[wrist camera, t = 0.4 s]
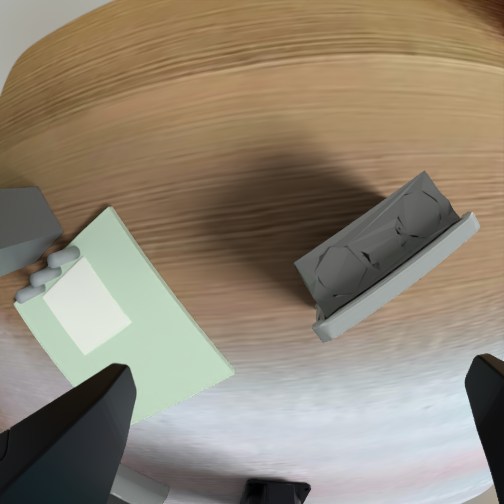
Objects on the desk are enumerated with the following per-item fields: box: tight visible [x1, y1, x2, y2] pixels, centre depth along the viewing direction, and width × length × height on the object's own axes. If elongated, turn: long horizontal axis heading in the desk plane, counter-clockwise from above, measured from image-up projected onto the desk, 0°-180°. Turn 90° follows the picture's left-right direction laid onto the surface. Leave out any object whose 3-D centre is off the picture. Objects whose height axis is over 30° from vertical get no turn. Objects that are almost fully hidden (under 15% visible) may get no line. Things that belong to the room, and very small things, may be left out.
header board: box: [14, 206, 235, 425], centre depth 22 cm, size 15×14×4 cm
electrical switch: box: [293, 170, 480, 343], centre depth 17 cm, size 9×5×9 cm, turn 125°
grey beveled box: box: [107, 463, 170, 504], centre depth 27 cm, size 10×4×15 cm
